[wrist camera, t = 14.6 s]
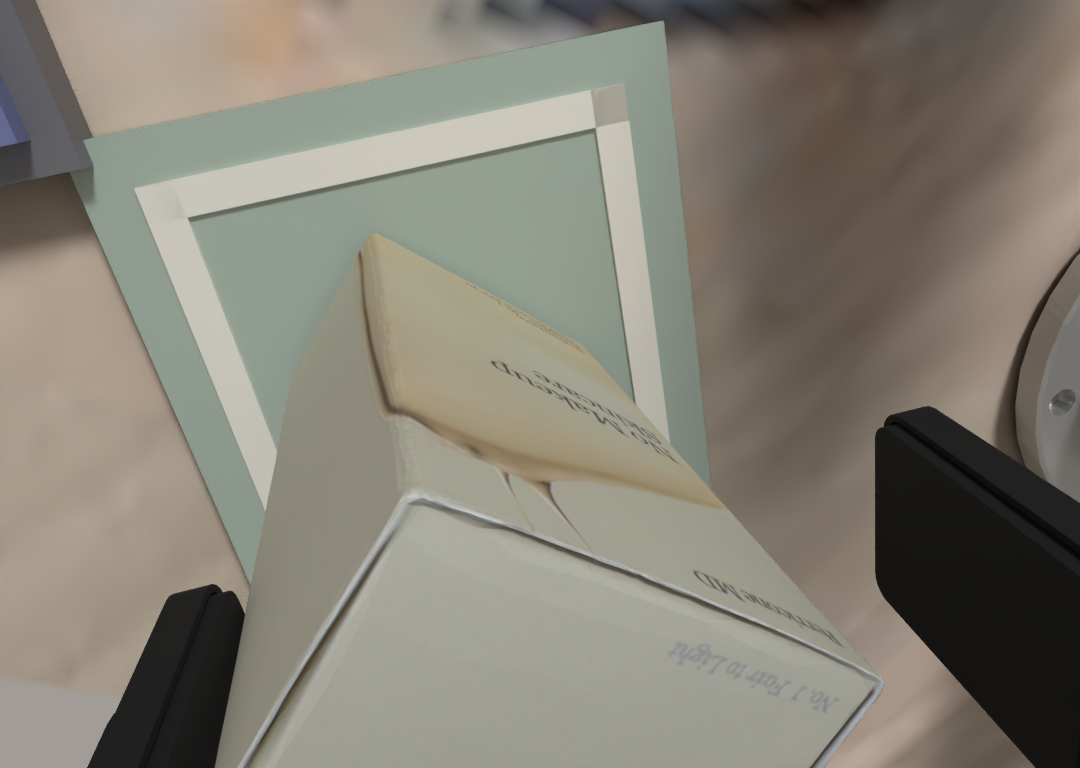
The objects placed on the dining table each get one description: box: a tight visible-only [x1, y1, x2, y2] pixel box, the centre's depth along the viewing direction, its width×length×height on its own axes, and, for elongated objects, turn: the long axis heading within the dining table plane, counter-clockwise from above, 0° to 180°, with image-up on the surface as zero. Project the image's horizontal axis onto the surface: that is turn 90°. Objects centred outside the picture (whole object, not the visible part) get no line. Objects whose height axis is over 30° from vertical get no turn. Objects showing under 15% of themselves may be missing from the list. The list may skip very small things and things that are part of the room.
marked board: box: [69, 21, 712, 585], centre depth 19 cm, size 13×13×1 cm
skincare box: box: [215, 233, 884, 768], centre depth 13 cm, size 6×4×12 cm
